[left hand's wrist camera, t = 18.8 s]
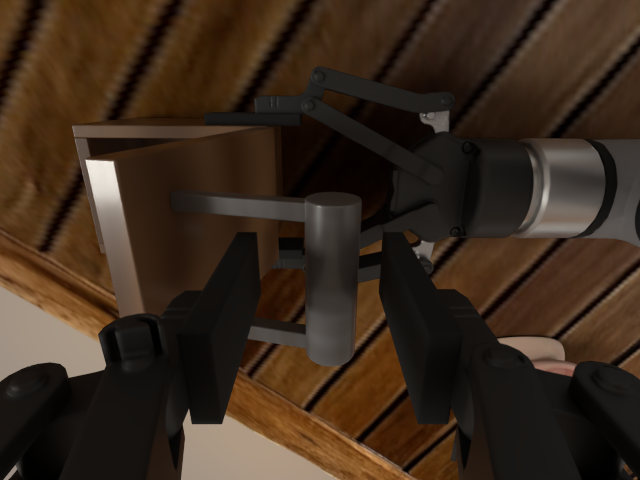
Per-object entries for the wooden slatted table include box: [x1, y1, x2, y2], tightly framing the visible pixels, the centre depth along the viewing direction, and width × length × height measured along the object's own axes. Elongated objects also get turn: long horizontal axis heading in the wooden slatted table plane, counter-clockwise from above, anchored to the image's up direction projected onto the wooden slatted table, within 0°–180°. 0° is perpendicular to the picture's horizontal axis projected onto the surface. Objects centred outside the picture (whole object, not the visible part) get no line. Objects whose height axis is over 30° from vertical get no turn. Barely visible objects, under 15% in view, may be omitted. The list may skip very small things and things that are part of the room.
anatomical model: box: [498, 337, 577, 376], centre depth 41 cm, size 13×4×12 cm
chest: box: [72, 118, 283, 253], centre depth 30 cm, size 13×9×9 cm
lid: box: [85, 127, 362, 366], centre depth 18 cm, size 14×9×8 cm
